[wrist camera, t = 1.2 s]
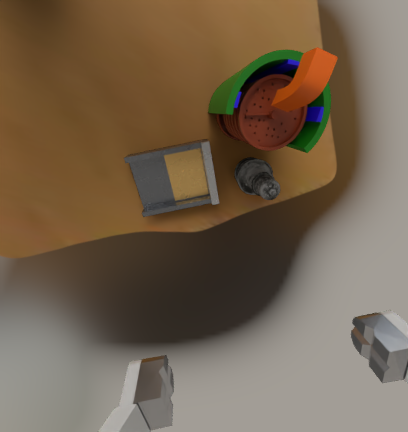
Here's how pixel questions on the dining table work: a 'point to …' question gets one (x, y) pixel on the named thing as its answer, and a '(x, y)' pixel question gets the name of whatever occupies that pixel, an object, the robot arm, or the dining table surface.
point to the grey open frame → (174, 177)
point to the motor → (277, 100)
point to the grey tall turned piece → (257, 178)
